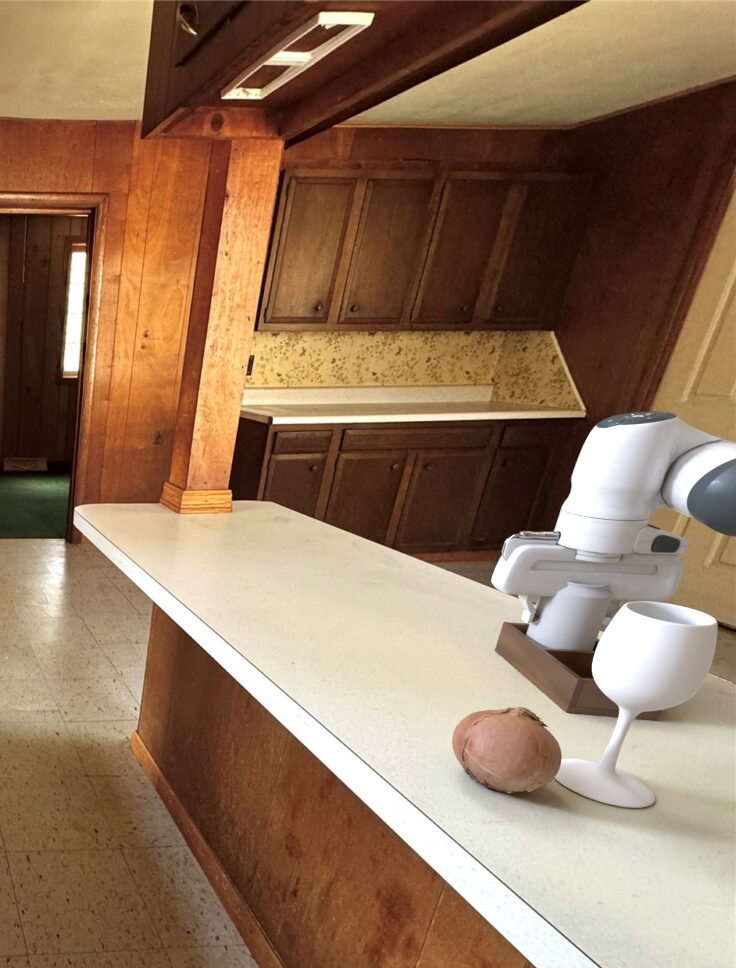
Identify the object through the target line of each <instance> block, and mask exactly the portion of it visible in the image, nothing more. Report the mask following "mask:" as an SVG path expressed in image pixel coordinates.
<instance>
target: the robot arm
mask: <svg viewBox="0 0 736 968" xmlns="http://www.w3.org/2000/svg"><path fill="white" fill-rule="evenodd" d="M570 482H571V483H570V484H571V488H570V492H569V494H568V497H567V498H566V499H565V500H564V502H563V504H562V505H561V508H560V510H559V511H560V512H559V515H558V517H557V521H556V524H555V527H554V529H553V531H532V530H522V531H519V532H518V533H516V534H512V535H511V536H509V537H507V538H506V539H505V541H504V543H503V545H502V549H501V555H500V557H499V559H498V561H497V563H496V565H495V568H494V571H493V573H492V576H491V579H490V581H491V584H492V585H493V587H494V588H495V589H496V590H498V591H499V592H500V593H502V594H504V595H511V596H513V595H514V596H515V595H516V596H518V599H519V602H520V604H521V606H522V608H523V611H522V615H521V621H522V622H523V623H528V624H530V623H539V622H540V618H541V617H542V613H541V612H539V611H537V610H536V609H535V605H534V603H537V602H538V599H539V596H550V597H554V596H556V594H557V592H558V591H560V590H562V589H563V588H565V587H567V586H568V584H567V582H573V583H578V584H585V585H605V584H610V586H608V589H609V590H610V591H611V593H612V594H613V596H612V599H611V602H610V604H609V607H608V610H607V612H606V615H605V618H604V621H603V623H602V626H601V628H603V629H604V628H605V629H606V628H607V627H608V625H609V624H610V622H611V621H612V620H613V618H614V617H615V615H616V614H617V613H618V612H619V610H620V609H621V608H622V607H623V606H624V605H625V604H626V603H629V602H634V601H650V602H660V603H665V602H666V601H668V600H669V599H671V598H672V597H673V596H674V595H675V594H676V592H677V590H678V587H679V584H680V581H681V579H682V575H683V571H684V568H685V567H684V566H685V561H684V559H683V557H682V556H681V555H682V554H684V553H686V552H687V551H688V548H689V546H690V540H689V539H687V538H686V537H683V536H681V535H679V534H676V533H674V532H671V531H669V530H665V529H663V528H661V527H658V526H655V525H653V524H650V523H649V522H650V519H651V516H652V514H653V512H655V511H656V510H659V509H669V510H673V511H674V512H675V513H678V514H680V515H683V516H686V517H688V518H692V519H694V520H696V521H697V522H699V523H701V524H703V525H704V526H706V527H708V528H709V529H711V530H713V531H714V532H716V533H719V534H722V535H725V536H728V537H734V538H736V441H733V440H729V439H728V440H727V439H725V438H722V437H719V436H716V435H713V434H710V433H708V432H705V431H703V430H700V429H698V428H696V427H694V426H691V425H690V424H689V423H687V422H685V421H683V420H682V419H681V418H680V416H679V415H678V414H676V413H672V412H667V411H653V410H652V411H634V412H627V413H621V414H615V415H611V416H609V417H607V418H605V419H603V420H601V421H599V422H598V423H596V424H595V426H594V427H593V428H592V429H591V431H590V432H589V434H588V436H587V438H586V439H585V441H584V443H583V445H582V447H581V449H580V452H579V455H578V457H577V460H576V461H575V466H574V468H573V471H572V474H571V477H570Z"/></svg>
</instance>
